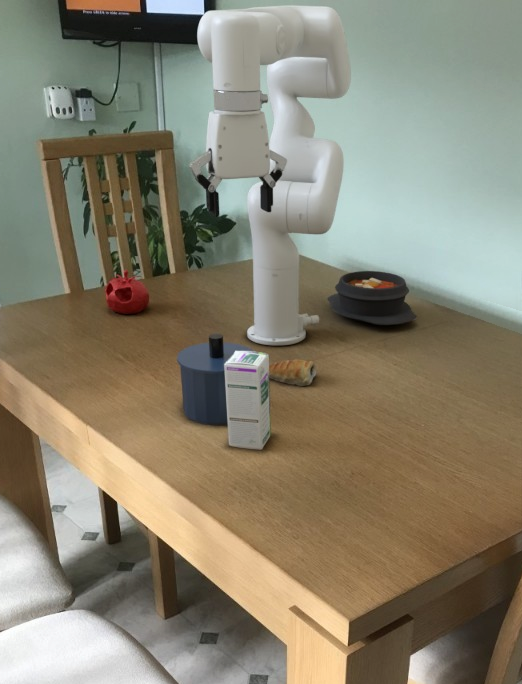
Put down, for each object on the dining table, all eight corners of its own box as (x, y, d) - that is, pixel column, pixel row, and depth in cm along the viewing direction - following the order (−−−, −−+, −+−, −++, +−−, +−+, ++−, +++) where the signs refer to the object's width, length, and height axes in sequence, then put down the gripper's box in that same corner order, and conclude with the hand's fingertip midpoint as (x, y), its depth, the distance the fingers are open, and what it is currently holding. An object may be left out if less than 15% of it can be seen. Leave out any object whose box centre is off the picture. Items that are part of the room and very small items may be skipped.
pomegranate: (129, 300, 195) (125, 261, 190) (159, 309, 190) (155, 269, 185) (97, 310, 188) (92, 270, 183) (127, 319, 183) (123, 278, 178)
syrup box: (262, 450, 131) (261, 365, 123) (227, 446, 132) (223, 361, 124) (271, 435, 136) (270, 352, 128) (237, 431, 137) (234, 348, 129)
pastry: (262, 382, 154) (261, 363, 152) (271, 369, 160) (271, 351, 158) (310, 387, 153) (310, 368, 151) (317, 374, 159) (318, 356, 157)
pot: (238, 390, 151) (236, 341, 146) (265, 417, 142) (265, 365, 136) (174, 402, 146) (170, 351, 141) (198, 430, 137) (195, 377, 132)
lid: (238, 343, 147) (237, 318, 144) (269, 369, 137) (268, 343, 134) (166, 354, 141) (164, 329, 139) (193, 382, 131) (191, 355, 129)
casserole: (435, 325, 185) (438, 288, 180) (366, 338, 176) (368, 300, 172) (373, 295, 203) (375, 261, 198) (309, 306, 195) (309, 270, 190)
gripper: (276, 99, 138) (276, 205, 147) (178, 101, 131) (185, 212, 140) (295, 103, 132) (294, 213, 141) (194, 106, 125) (200, 221, 134)
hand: (240, 212), depth 141 cm, fingers open, 9 cm apart
